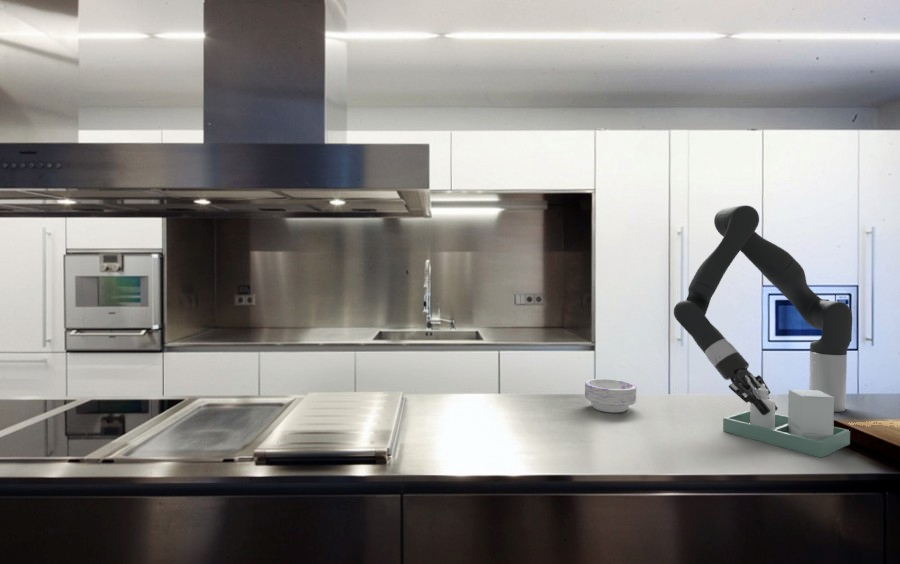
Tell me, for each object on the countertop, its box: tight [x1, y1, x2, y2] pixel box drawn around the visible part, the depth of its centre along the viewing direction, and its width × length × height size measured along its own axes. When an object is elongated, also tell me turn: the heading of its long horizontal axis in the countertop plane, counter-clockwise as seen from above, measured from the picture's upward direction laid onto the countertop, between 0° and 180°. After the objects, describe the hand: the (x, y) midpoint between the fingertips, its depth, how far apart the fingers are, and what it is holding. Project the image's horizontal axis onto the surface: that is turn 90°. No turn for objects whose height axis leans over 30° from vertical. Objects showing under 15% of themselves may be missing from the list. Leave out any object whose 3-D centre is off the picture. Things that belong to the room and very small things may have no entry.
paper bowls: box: [584, 378, 637, 414], centre depth 161 cm, size 15×15×8 cm
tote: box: [722, 409, 851, 458], centre depth 134 cm, size 16×23×4 cm
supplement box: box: [787, 389, 835, 441], centre depth 129 cm, size 7×7×13 cm
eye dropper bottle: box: [749, 383, 776, 429], centre depth 138 cm, size 4×6×12 cm
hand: (770, 412), depth 137 cm, fingers closed on eye dropper bottle, 3 cm apart
